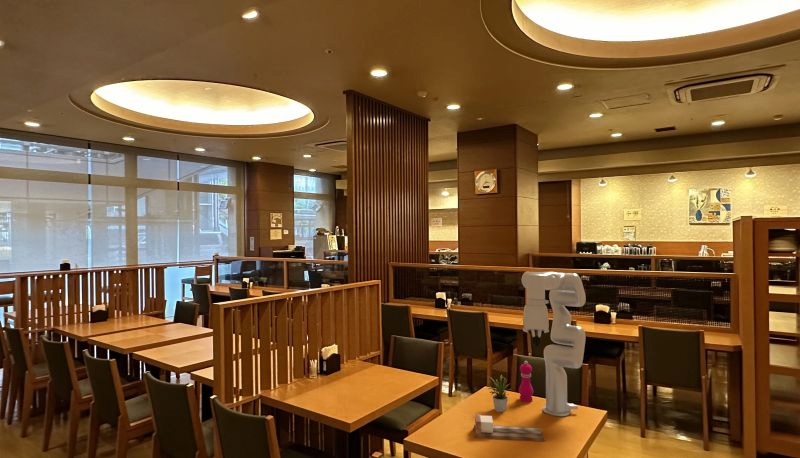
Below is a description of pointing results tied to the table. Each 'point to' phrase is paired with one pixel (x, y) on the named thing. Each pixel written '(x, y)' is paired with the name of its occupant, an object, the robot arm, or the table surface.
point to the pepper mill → (526, 383)
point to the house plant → (499, 395)
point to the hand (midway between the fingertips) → (535, 345)
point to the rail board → (508, 432)
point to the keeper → (486, 424)
